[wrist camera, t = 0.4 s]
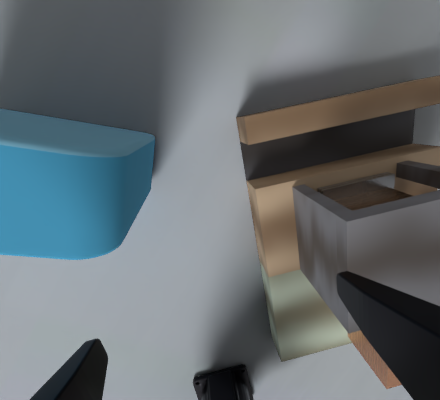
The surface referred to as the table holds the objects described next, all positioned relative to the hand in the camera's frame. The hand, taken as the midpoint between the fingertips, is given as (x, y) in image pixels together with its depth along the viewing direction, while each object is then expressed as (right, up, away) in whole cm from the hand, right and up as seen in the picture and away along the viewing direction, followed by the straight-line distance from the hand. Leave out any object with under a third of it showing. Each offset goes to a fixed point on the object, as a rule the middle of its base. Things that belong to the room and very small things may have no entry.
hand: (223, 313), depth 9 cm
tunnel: (+11, +1, +16) cm, 20 cm away
